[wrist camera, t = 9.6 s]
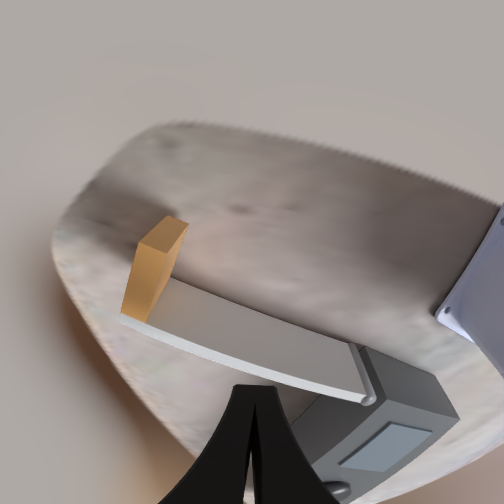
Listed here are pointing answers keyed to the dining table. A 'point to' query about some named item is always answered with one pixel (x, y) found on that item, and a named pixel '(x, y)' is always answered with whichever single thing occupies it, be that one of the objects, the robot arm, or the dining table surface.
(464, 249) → the dining table surface
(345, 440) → the camera body
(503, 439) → the dining table surface
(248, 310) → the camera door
